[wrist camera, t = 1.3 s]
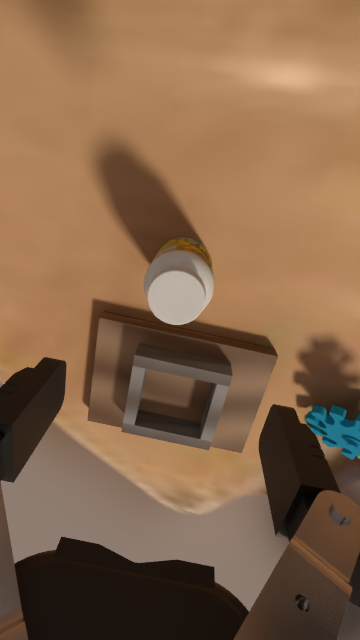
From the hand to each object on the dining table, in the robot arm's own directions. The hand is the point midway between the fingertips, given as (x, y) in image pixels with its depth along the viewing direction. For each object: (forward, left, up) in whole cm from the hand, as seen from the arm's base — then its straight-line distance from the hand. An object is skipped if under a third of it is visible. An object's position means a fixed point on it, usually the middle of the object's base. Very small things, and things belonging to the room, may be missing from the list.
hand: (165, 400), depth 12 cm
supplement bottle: (0, -1, -20) cm, 20 cm away
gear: (+13, +21, -20) cm, 32 cm away
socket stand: (+13, +1, -20) cm, 24 cm away
